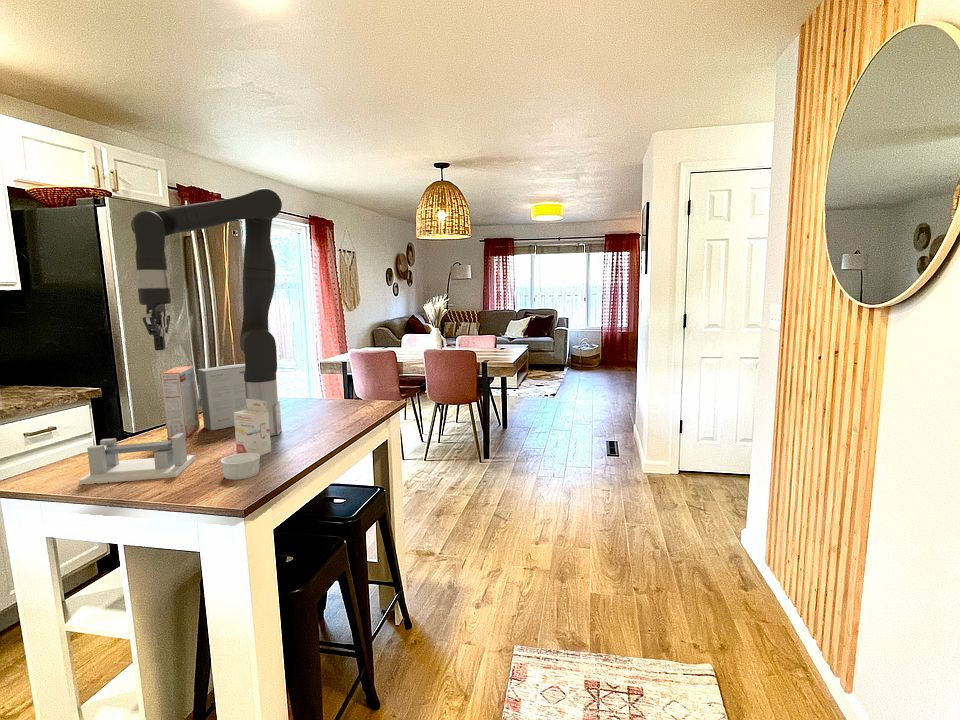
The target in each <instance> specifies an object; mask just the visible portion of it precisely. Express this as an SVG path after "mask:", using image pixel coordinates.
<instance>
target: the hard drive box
mask: <svg viewBox="0 0 960 720" xmlns="http://www.w3.org/2000/svg"><path fill="white" fill-rule="evenodd" d="M244 372H245V363H238V364H230V365H222V366H215V367H206V368H198V369H197V375H198V386H199V394H200V403H201V411H202V421H203V427H204V428H206V430H208V431H210V432H211V431H216V430H217V431H218V430H220V429H221V430H223V429H226V428H227V429H228V428H230V427H235V424H234V412H238V411H242V410H246V409H247V406H246V394H245V381H244Z"/></svg>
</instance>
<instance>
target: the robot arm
mask: <svg viewBox="0 0 960 720" xmlns="http://www.w3.org/2000/svg"><path fill="white" fill-rule="evenodd" d="M282 208H283V203H282V200H281V198H280V196H279V194H278V193H277V192H275V191H274V190H272V189H270V188H266V187H263V188H262V187H260V188H255V189H254V190H252V191H251V192H248V193H245V194H242V195H238V196H235V197H231V198H226V199H225V198H224V199H220V200H212V201H206V202H205V201H204V202H198V203H191V204H184V205H180V206H174V207H171V208H169V209H165V210H160V211H158V210H157V211H152V210H142V211H139V212H137V214H135V216H133V218H132V219H131V222H130V227H131V231H132V232H133V234H134V238H135V247H136V251H135V264H136V285H137V293H138V302H139V303H138V304H139V305H142V306H146V310H145V316H144V317H142V322H143V324H144V326H145V329H146V330H147V332H148V333H147V334H149V336H152V338H153V345H154V350H155V351H164V350H166V340H165V337H166V334H168V332H169V327H170V324H171V323H170V322H171V314H169V315H168V311H167V309H166V305H171V303H172V296H171V295H172V294H171V286H170V278H169V274H168V266H167V259H166V258H167V257H166V252H165V250H166V249H165V248H166V237H167V236H171V235H175V234H180V233H188V232H189V233H190V232H193V231H199V230H203V229H208V228H213V227H216V226H220V225H224V224H226V223H231V222H235V221H241V220H244V226H245V228H244V230H245V242H244V243H245V244H244V248H243V249H244V251H243V263H242V264H243V265H242V267H243V268H242V306H243V314H242V322H241V329H240V336H239V347H240V349H241V351H242V352H243V354H244V355H243V356H244V364H245V372H244V381H245V394H246V399H253V400H261V401H266V402H267V409H268V415H269V428H270V437H273V436H279V434H280V433H281V432H282V431H283V430H282V428H283V427H282V416H281V404H280V401H279V397H278V395H279V394H278V383H277V371H278V355H277V351H278V350H277V341H276V339H275V337H274V335H273V334H272V333H271V332H269V331H270V330H269V311H270V306H271V304H272V299H273V296H274V292H275V287H276V261H275V256H274V252H273V251H274V250H273V248H272V240H271V235H272V233H271V232H272V223H273V219H274V218H276V217H277V216H279V214H280V213H281V211H282ZM253 405H254V406H260V404H257V403H255V404H253ZM246 406H247V404H246Z"/></svg>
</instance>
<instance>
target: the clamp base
mask: <svg viewBox="0 0 960 720" xmlns="http://www.w3.org/2000/svg"><path fill="white" fill-rule="evenodd" d="M169 441H171V442H172V444H173V446H172V447H171V448H169V449H163V450H155V452H153V457H149V458H136V459H135V458H134V459H124V460H123V459H122V460H120V459H119V454H109V455H106V454H105V446H104V445H106V444H107V445H110V446H116V445H118V443H117V438H116V437H113V438H102V439H101V440H100V441H99V444H100V445H89V446H88V447H87V448H86V450H87V458H88V464H89V465H88V466H89V473H87V474H86V475H84V476H83V477H81V478H80V479H78V485H79V486H82V484H85V485H95V484H94V483H97V484H106V483H107V484H108V482H109V483H117V482H130V481H143V480H144V481H145V480H157V479H168V478H177V477H178V476H179V475H180V474H181V473H182V472H183V471H184V470H185V469H187V467H189V465H191V464H192V463H193V462H194V461H195V460H196V455H195V454H192V455H191V454H189V455H188V454H187V445H186V444H187V443H186V438H185V433H178V434H177V435H174V436H172V437H171V438H170V439H169Z"/></svg>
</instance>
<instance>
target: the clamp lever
mask: <svg viewBox="0 0 960 720" xmlns="http://www.w3.org/2000/svg"><path fill="white" fill-rule="evenodd" d="M104 446H105V454H106V455H109V454H118V455H119V454H120V455H121V454H128V453H138V452H140V453H141V452H149V451H150V452H151V451H157V450H163V449H169V448H171V447H172V446H173V444H172V442H171V441H170V440H165V441H164V440H163V441H152V442H151V441H150V442H141V443H130V444H119V445H118V444H117V445H116V446H110V445H107V444H106V445H104Z"/></svg>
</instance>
